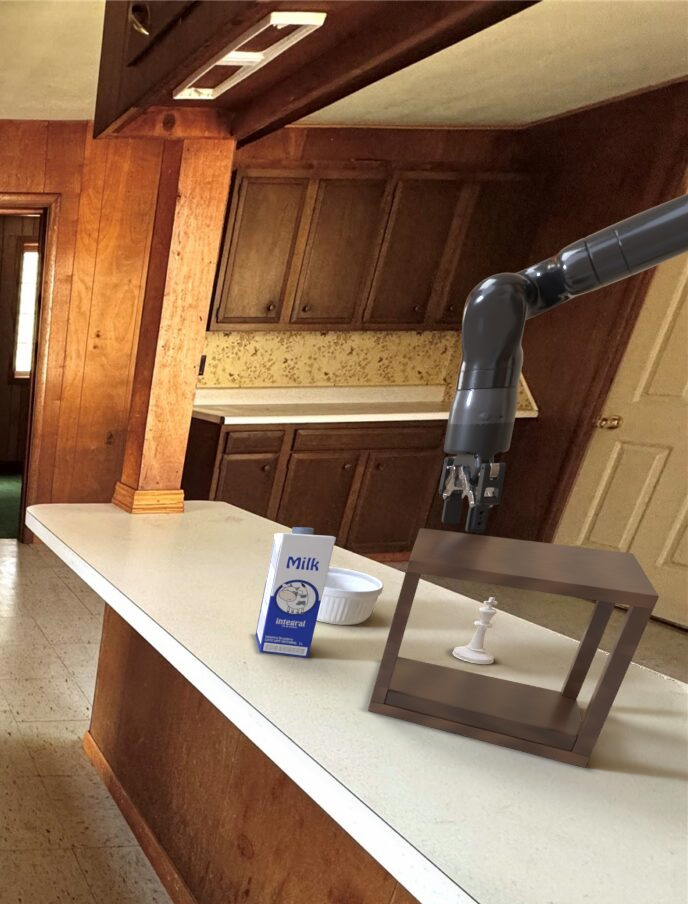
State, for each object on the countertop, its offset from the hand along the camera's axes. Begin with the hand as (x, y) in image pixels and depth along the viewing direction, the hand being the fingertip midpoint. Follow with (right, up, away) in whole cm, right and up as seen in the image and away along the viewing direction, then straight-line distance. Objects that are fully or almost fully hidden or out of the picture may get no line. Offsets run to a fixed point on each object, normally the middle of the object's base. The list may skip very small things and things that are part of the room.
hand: (462, 527), depth 103 cm
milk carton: (-25, -19, +5) cm, 32 cm away
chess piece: (+1, -20, 0) cm, 21 cm away
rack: (-11, -26, -14) cm, 31 cm away
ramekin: (-9, -14, +17) cm, 24 cm away
